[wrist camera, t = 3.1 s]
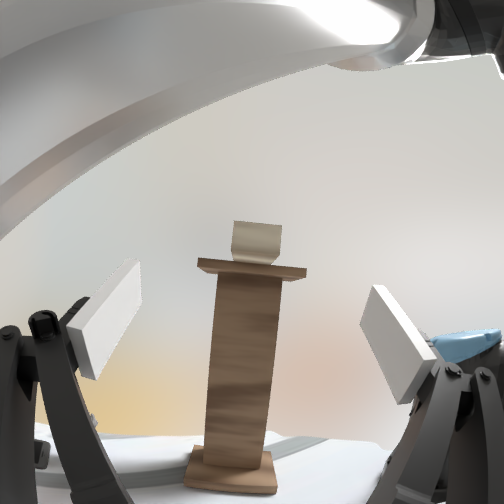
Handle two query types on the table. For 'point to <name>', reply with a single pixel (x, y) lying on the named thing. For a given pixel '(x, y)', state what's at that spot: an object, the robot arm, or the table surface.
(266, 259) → the ash bar
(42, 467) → the cell phone
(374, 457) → the table surface
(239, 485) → the shelf stand
